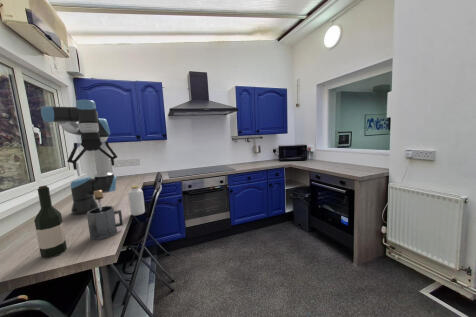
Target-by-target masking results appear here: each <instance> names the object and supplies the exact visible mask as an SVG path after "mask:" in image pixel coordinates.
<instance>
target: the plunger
mask: <svg viewBox="0 0 476 317" xmlns="http://www.w3.org/2000/svg"><path fill="white" fill-rule="evenodd" d="M94 199H95V201H98V202H97V204H98V208H99V210H100V213H101V212H102V207H103V206H102V201H101V200H102V199H104V193H103V191H102V190H97V191H94Z"/></svg>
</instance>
